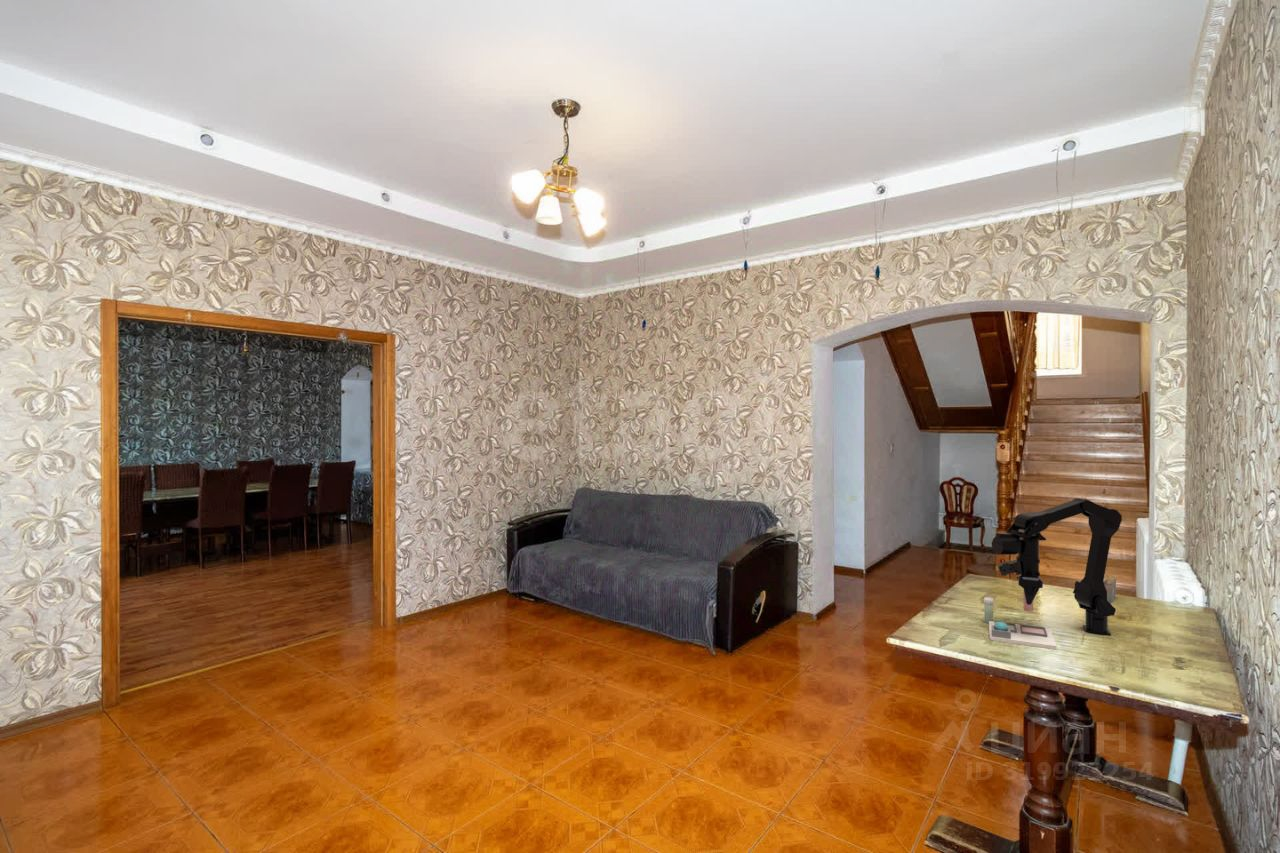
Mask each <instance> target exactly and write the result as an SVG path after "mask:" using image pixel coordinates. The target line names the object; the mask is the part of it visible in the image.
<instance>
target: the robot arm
mask: <svg viewBox="0 0 1280 853" xmlns="http://www.w3.org/2000/svg"><path fill="white" fill-rule="evenodd" d="M1077 515H1083V516H1085V517H1087V518H1088V522H1087V523H1088V527H1089V529H1090V531H1091V538H1090V543H1089V550H1088V556H1087V561H1086V566H1085V573H1084V577H1083V578H1082V579H1081V580H1080V581H1078V580H1075V582H1074V589H1073V591H1072V593H1073V595H1074V596H1073V597H1074V600H1075V601H1076V602H1077V603H1078V606H1079V608H1080V609H1083V610H1085V624H1083V625H1082V628H1083V630H1084V632H1086V633H1091V634H1097V635H1098V634H1100V635H1106V636H1111V635H1112V634H1111V632H1110V629H1109V628H1108V627H1109V626H1108V625H1109V617H1111V616H1113V617H1114V616H1115V613H1116V612H1117V611H1116V608H1115V607H1114V606H1113V605H1112V603H1111V604H1110V603H1109V602H1108V601H1107V590H1106V587H1105V585H1104V580H1105V576H1106V574H1105V573H1106V570H1107V562H1108V559H1109V558H1108V557H1109V552H1110V548H1111V546H1110V545H1111V541H1112V540H1111V539H1112V537H1113V536H1114V535H1115V534H1116V533H1117V532H1118V531H1119V529H1120V526H1121V524H1122V520H1123V516H1122V514H1121V513H1120V512H1119V511H1118V509H1115V508H1109V507H1105V506H1102V505H1100V504H1097V503H1095V502H1093V501H1091V500H1090V499H1086V498H1081V497H1080V498H1079V497H1076V498H1074V499H1072V500H1069V501H1067V502H1064V503H1061V504H1059V505H1055V506H1052V507H1050V508H1047V509H1046V508H1045V509H1044V510H1040V511H1031V512H1030V511H1029V512H1023V513H1022V512H1021V513H1019V514H1017V515H1016V516H1015V518H1014V521H1013V522H1012V524H1011V526H1010V527H1009V528H1008V529H1007V531H1006V532H1004V533H1003V532H995V536H994V537H993V539H992V541H991V548H992V551H993V553H995V555H999V556H1000V555H1001V556H1002V555H1006V556H1007V555H1016V556H1015V557H1016V558H1015V559H1014V560H1008V561H1007V560H1006V561H1003V562H1000V563H997V564H996V566H997V568H998V571H999V574H1000V575H1001V576H1003V577H1004V576H1007V575H1010V574H1015V576H1016V580H1017V583H1018V586H1020V587H1022V590H1023V589H1024V593H1025V598H1026V602H1027V604H1028V605H1031V604H1032V602H1033V603H1034V600H1035V597H1036V596H1037V594H1038V592H1039V590H1040V589H1043V587H1044V586H1043V585H1044V584H1043V579H1042V578H1041V577H1040V575H1041V572H1040V563H1041V559H1040V541H1046V540H1047V538H1046V537H1045V536H1044V535H1042V532H1044V531H1045V530H1047V529H1048V528H1049V526H1050V525H1052V524H1054V523H1057V522H1060V521H1063V520H1066V519H1068V518H1073V517H1075V516H1077ZM1017 575H1018V576H1017Z"/></svg>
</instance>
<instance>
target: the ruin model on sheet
mask: <svg viewBox="0 0 1280 853" xmlns="http://www.w3.org/2000/svg"><path fill="white" fill-rule="evenodd" d="M1105 576H1106V578H1104V585H1105V587H1106V590H1107V601H1108V602H1109V603H1110V604H1111V605H1112V603H1113V602H1114V600H1116V598H1117V578H1116V576H1115V575H1113V574H1111V573H1109V572H1107V571H1105ZM1115 595H1116V596H1115Z"/></svg>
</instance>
